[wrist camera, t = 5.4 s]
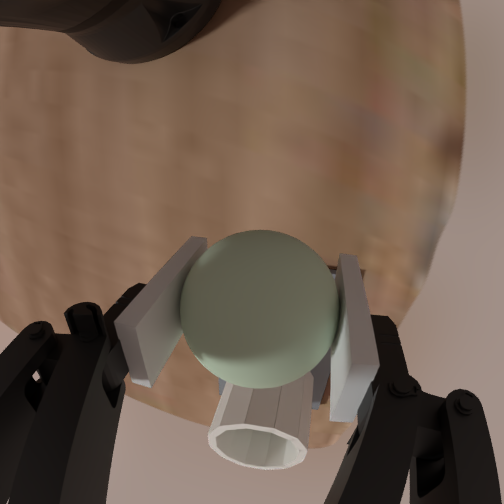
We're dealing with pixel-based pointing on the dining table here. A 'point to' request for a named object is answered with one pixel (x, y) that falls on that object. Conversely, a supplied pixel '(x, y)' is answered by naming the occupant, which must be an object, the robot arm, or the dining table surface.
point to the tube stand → (268, 419)
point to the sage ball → (259, 309)
